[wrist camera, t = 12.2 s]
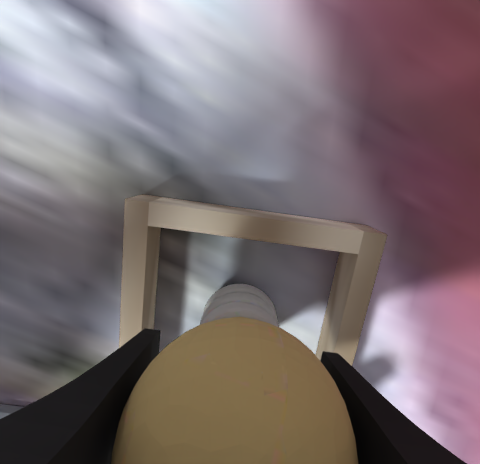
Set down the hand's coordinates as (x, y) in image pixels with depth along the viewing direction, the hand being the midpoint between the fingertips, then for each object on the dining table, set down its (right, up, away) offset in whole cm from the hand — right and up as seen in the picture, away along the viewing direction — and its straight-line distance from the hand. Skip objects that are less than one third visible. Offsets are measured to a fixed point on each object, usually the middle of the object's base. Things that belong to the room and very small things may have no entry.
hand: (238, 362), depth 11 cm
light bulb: (0, +1, +4) cm, 4 cm away
